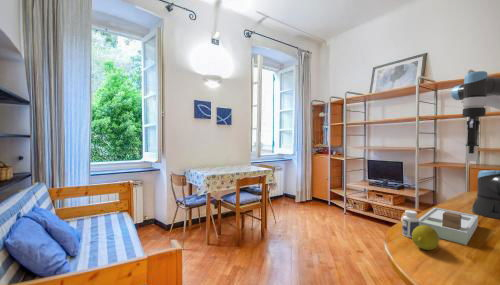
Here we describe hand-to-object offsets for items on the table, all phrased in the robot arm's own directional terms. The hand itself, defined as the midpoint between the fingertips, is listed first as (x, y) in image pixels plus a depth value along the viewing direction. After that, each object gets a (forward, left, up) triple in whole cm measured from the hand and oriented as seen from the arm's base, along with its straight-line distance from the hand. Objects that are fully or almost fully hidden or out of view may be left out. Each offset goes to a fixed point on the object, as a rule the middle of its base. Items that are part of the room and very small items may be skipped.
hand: (471, 160), depth 108 cm
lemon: (+40, +14, -30) cm, 52 cm away
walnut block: (+20, +8, -25) cm, 33 cm away
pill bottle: (+36, +4, -30) cm, 47 cm away
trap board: (+13, +1, -29) cm, 32 cm away
